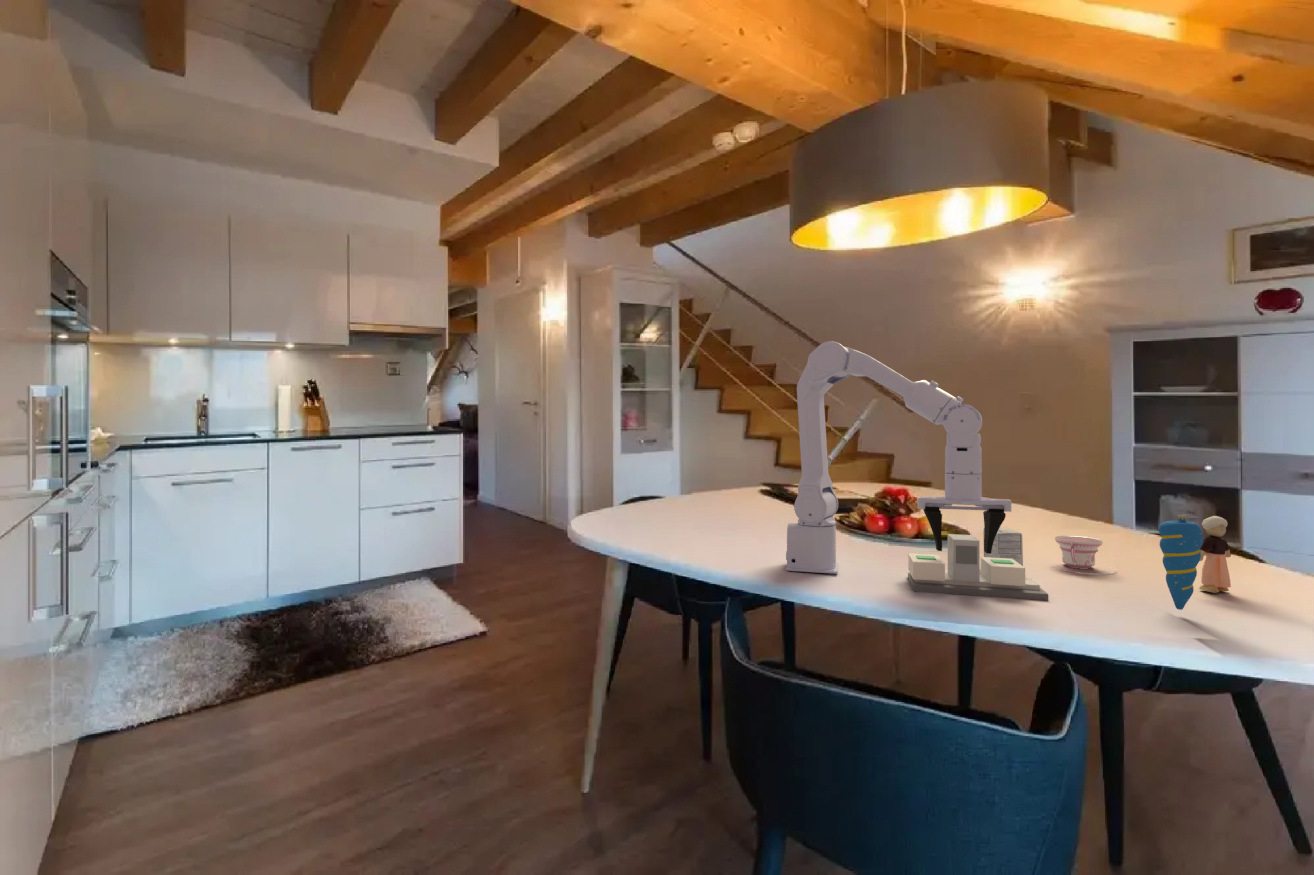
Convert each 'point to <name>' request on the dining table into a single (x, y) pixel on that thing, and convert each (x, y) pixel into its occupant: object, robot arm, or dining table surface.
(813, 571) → the robot arm
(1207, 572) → the grandmother figurine
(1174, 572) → the ornament
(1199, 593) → the dining table surface
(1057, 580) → the dining table surface
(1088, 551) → the teacup
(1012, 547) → the medicine box
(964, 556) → the loose module
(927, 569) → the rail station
